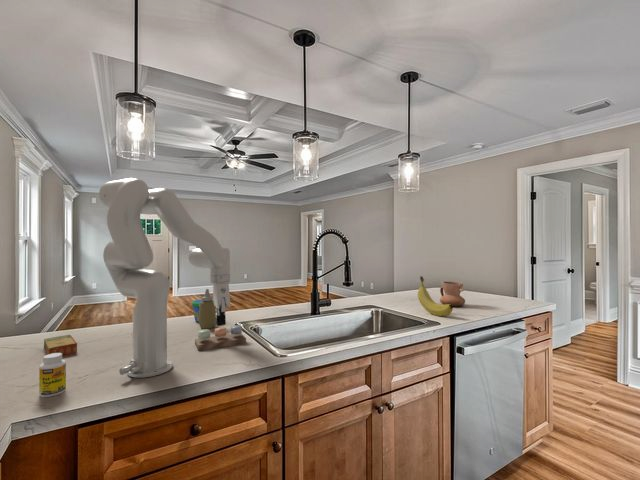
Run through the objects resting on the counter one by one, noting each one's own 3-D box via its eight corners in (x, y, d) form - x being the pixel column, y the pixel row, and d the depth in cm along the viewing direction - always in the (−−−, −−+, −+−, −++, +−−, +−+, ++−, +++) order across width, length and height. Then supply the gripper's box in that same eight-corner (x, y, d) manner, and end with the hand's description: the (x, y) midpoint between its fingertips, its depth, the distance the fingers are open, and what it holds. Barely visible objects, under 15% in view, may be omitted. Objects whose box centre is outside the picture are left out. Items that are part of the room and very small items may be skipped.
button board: (198, 350, 121) (198, 344, 121) (194, 344, 129) (194, 338, 129) (246, 343, 129) (246, 337, 129) (240, 337, 137) (240, 332, 137)
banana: (456, 318, 169) (456, 279, 169) (448, 319, 166) (448, 280, 166) (422, 310, 189) (422, 275, 189) (415, 311, 186) (415, 276, 186)
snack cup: (211, 324, 159) (211, 303, 159) (188, 325, 157) (188, 304, 157) (215, 317, 174) (215, 297, 174) (195, 317, 172) (195, 298, 172)
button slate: (232, 334, 129) (232, 328, 129) (229, 332, 133) (229, 326, 133) (243, 333, 131) (243, 327, 131) (240, 330, 135) (240, 324, 135)
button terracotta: (215, 337, 126) (215, 330, 126) (213, 334, 130) (213, 328, 130) (227, 335, 128) (227, 329, 128) (225, 332, 132) (225, 326, 132)
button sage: (198, 339, 123) (198, 333, 123) (197, 336, 127) (197, 330, 127) (211, 337, 125) (211, 331, 125) (209, 334, 129) (209, 328, 129)
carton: (48, 360, 113) (47, 347, 113) (43, 349, 125) (43, 338, 125) (77, 354, 119) (77, 342, 119) (70, 344, 130) (70, 333, 130)
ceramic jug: (472, 307, 196) (472, 283, 196) (453, 309, 191) (453, 284, 191) (450, 302, 213) (450, 280, 213) (432, 303, 208) (432, 281, 208)
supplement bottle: (38, 400, 84) (37, 360, 84) (40, 392, 89) (40, 354, 89) (65, 394, 87) (65, 356, 87) (66, 386, 92) (66, 350, 92)
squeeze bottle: (210, 330, 148) (210, 290, 148) (194, 329, 150) (194, 290, 150) (219, 325, 156) (219, 288, 156) (204, 324, 158) (204, 287, 158)
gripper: (234, 280, 124) (235, 328, 125) (226, 276, 138) (226, 319, 138) (214, 281, 121) (214, 331, 121) (207, 277, 134) (208, 321, 134)
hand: (221, 324), depth 129 cm, fingers closed
